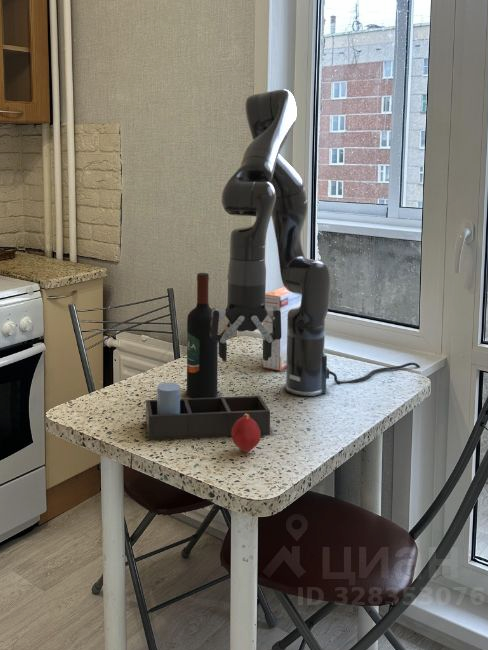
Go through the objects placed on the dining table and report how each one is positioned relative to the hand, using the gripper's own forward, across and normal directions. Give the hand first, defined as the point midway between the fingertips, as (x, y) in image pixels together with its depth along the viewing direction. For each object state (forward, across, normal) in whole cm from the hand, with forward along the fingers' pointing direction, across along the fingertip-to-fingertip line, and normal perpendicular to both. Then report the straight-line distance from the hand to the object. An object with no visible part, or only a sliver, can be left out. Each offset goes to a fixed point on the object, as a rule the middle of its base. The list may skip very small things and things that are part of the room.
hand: (244, 359), depth 135 cm
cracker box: (+18, +21, +50) cm, 58 cm away
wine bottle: (+18, -4, +29) cm, 34 cm away
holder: (+18, -6, +9) cm, 21 cm away
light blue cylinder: (+17, -14, +9) cm, 24 cm away
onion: (+18, 0, -3) cm, 18 cm away
